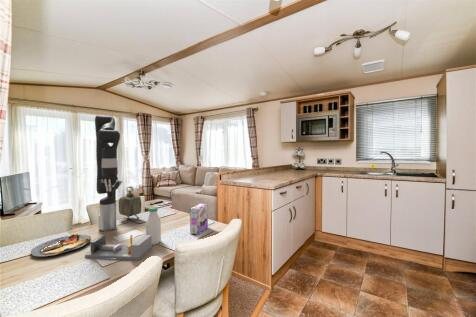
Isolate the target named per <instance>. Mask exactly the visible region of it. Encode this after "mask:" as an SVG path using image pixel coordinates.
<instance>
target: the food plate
mask: <svg viewBox="0 0 476 317" xmlns="http://www.w3.org/2000/svg"><path fill="white" fill-rule="evenodd" d="M59 241H60V242H59ZM91 241H92V238H91V236H90V235H87V234H71V235H67V236H61V237H59V238H58V237H57V238H54V239H51V240H47V241H44V242H42V243H40V244H38V245H37V246H34V247H33V248H32V249H31V250H30V253H31V255H32V256H34V257H48V256H49V257H50V256H56V255H59V254H64V253H67V252H69V251H73V250H77V249H79V248H81V247H85V246H86V245H88V244H89V243H90V242H91ZM57 242H58V244H59V243H60V244H59V245H58V244H57V245H53V244H56V243H57ZM50 245H52V246H51V247H48V246H50ZM45 247H47V248H45ZM44 248H45V249H44ZM42 249H44V250H43V251H42V252H41V250H42Z"/></svg>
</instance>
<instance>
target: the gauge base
mask: <svg viewBox="0 0 476 317" xmlns="http://www.w3.org/2000/svg"><path fill="white" fill-rule="evenodd" d="M132 243H133V242H132ZM111 245H117V244H116V243H115V244H112V243H111ZM121 245H122V247H121V248H120V249H119V250H117V251H116V252H113V250H97V251H96V252H91V250H90V251H89V252H87V253H86V254H84V258H86V259H100V258H116V259H115V260H117V259H121V261H135V262H138V261H141V259H143V257H145V256H146V255H148V253H149V252H150V251H152V247H153V245H152V238H151V235H146V234H144V235H142V236H141V237H140V238H138V239H137V240H136V241H134V243H133V244H131V243H130V244H121ZM129 245H131V252H130V253H128V249H127V247H128V246H129Z"/></svg>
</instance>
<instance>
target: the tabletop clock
mask: <svg viewBox="0 0 476 317" xmlns="http://www.w3.org/2000/svg"><path fill="white" fill-rule="evenodd" d="M128 189H131V190H132V191H131V190H128ZM126 192H127V193H126V195H125V196H121V197H120V198H119V199H118V213H119V214H120V215H121V216H125V217H127V218H126V221H129V218H130V217H132V216H135V217H136V219H137V220H139V219H140V217H139V216H137V215H139V214H141V213H142V198H141V196H140V195H135V194H134V193H133V192H134V188H133V187H132V186H127V187H126Z"/></svg>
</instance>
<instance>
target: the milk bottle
mask: <svg viewBox="0 0 476 317" xmlns="http://www.w3.org/2000/svg"><path fill="white" fill-rule="evenodd" d="M158 210H159V208H158V207H157V206H151V207H149V208H148V212H149V214H148V217H147V219H146V226H145V229H146V230H145V233H146V234H145V235H151V238H152V246H154V245H157V244H160V243H161V241H162V231H161V230H162V229H161V228H162V226H161V218H160V216H159V214H158ZM159 242H160V243H159Z"/></svg>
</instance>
